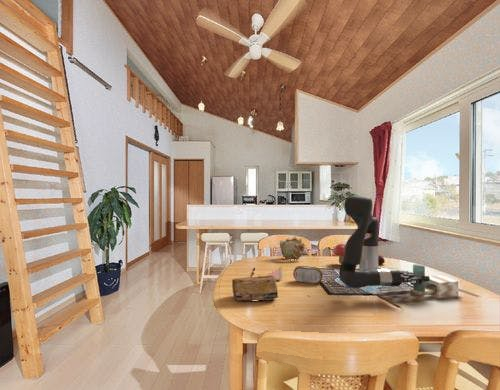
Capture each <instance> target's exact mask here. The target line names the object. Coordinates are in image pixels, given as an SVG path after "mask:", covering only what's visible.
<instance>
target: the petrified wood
mask: <svg viewBox="0 0 500 390" xmlns="http://www.w3.org/2000/svg"><path fill="white" fill-rule="evenodd" d="M231 281H232V283H231V287H232V294H233V296H232V297H233V298H234V297H235V298H234V299H235V300H237V301H242V300H243V301H251V300H263V301H269V300H275V299H276V298H278V297H279V296H278V295H279V294H278V293H279V291H278V285H277V281H276V279H275V277H273V276H258V277H251V276H246V277H239V278H238V277H237V278H234V279H232V280H231Z"/></svg>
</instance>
